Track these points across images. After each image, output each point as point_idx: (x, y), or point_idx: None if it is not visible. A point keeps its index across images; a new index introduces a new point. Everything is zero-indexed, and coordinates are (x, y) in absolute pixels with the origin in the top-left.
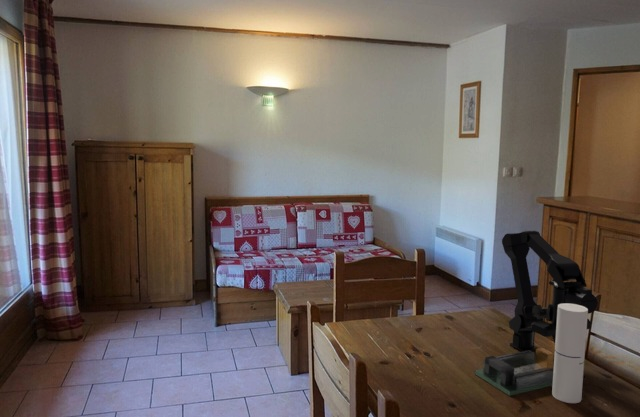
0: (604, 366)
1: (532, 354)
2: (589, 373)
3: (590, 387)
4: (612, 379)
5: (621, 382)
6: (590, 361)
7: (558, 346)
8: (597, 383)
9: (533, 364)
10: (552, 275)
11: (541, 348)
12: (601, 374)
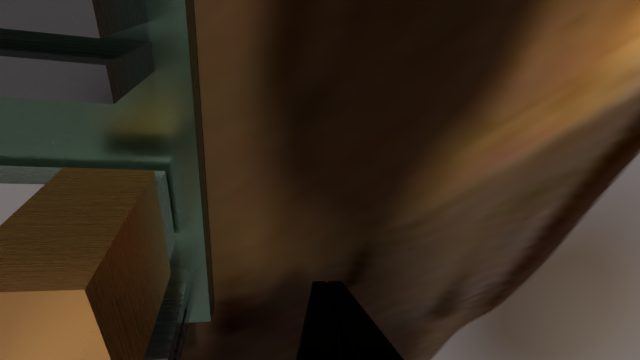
0: (553, 249)
1: (79, 93)
2: (408, 273)
3: (267, 349)
4: (427, 328)
5: (426, 347)
6: (581, 188)
7: None
8: None
9: (11, 190)
10: None
11: (48, 309)
12: (443, 293)
